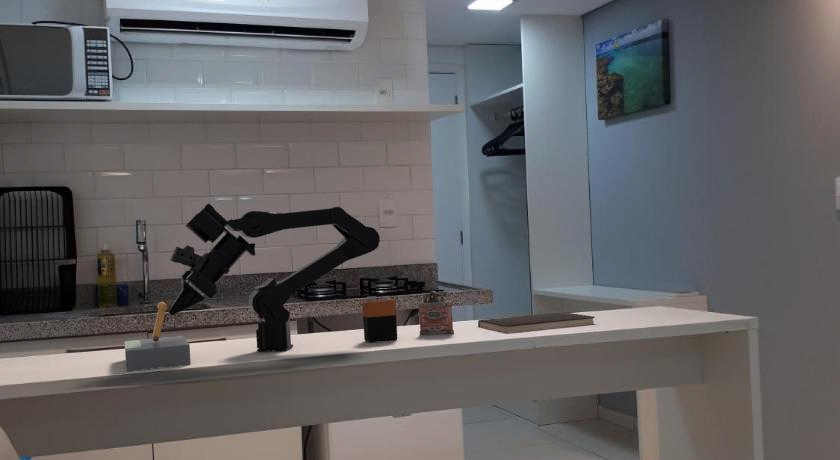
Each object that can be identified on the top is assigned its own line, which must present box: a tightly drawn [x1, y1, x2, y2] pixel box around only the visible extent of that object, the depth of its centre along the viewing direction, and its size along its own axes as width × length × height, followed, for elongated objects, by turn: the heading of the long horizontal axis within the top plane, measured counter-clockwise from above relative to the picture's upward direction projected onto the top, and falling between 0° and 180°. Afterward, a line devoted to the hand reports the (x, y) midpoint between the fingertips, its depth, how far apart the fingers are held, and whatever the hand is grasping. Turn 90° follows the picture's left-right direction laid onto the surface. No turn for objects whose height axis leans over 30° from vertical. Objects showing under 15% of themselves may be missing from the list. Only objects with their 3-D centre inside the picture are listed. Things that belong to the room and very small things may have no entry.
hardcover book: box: [477, 311, 596, 334], centre depth 192 cm, size 16×23×2 cm
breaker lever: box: [151, 301, 168, 342], centre depth 166 cm, size 2×4×8 cm, turn 20°
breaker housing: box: [124, 335, 191, 372], centre depth 166 cm, size 12×18×4 cm, turn 21°
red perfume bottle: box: [417, 290, 455, 336], centre depth 186 cm, size 8×3×10 cm, turn 76°
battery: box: [361, 295, 398, 344], centre depth 180 cm, size 4×7×10 cm, turn 108°
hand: (170, 313), depth 167 cm, fingers closed
